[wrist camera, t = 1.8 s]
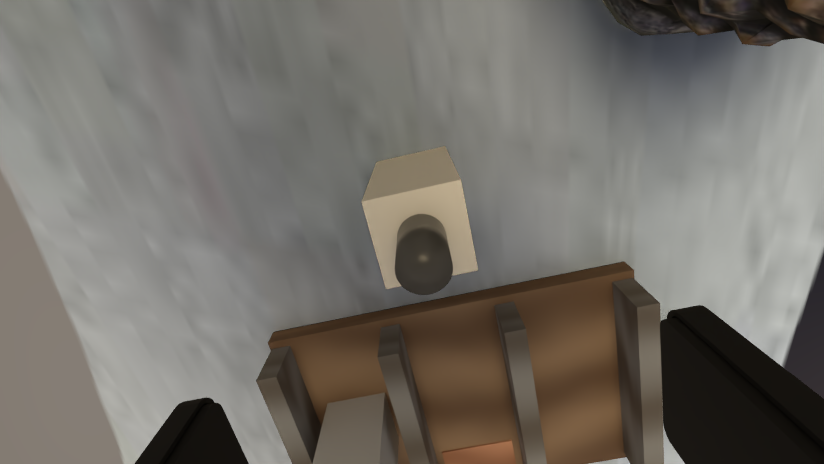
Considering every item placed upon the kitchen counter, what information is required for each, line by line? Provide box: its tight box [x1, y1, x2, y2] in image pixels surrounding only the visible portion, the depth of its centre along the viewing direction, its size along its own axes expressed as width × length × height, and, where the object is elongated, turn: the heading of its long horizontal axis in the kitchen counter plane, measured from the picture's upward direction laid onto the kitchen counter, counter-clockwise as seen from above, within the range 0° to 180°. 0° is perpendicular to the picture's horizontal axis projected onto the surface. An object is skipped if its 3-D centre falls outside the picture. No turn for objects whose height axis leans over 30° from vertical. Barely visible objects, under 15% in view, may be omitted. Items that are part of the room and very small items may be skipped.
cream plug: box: [361, 146, 478, 295], centre depth 20 cm, size 4×4×11 cm
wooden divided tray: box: [256, 262, 664, 464], centre depth 28 cm, size 15×23×4 cm, turn 103°
